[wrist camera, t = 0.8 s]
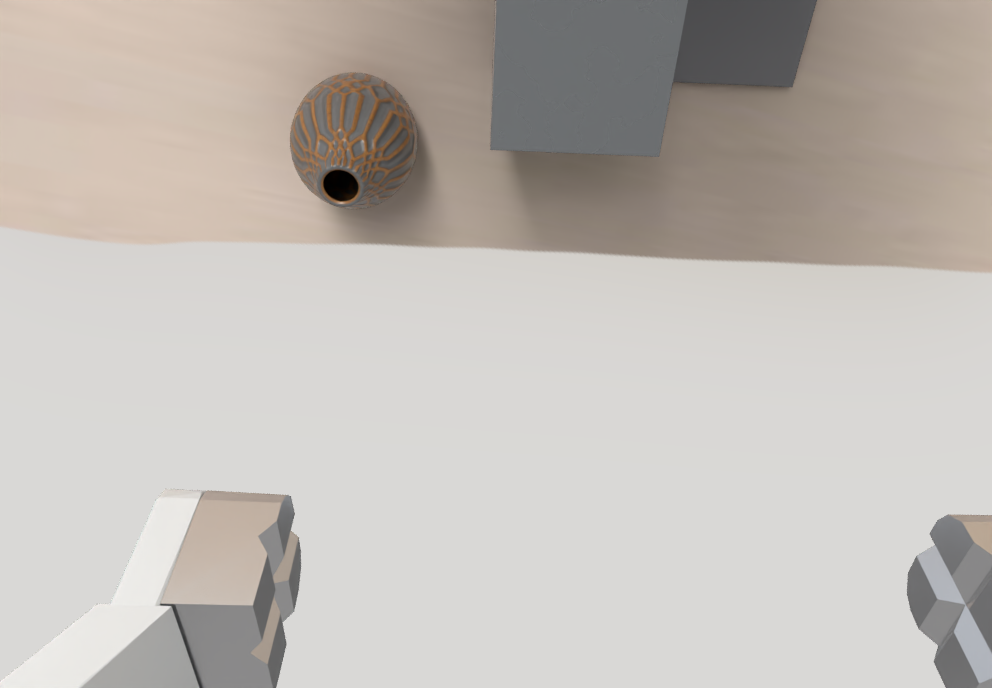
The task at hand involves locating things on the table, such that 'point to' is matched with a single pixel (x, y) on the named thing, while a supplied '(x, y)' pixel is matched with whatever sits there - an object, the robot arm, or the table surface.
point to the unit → (583, 74)
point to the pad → (743, 41)
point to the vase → (353, 140)
